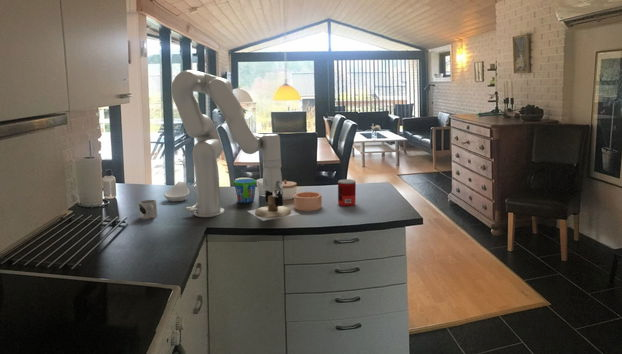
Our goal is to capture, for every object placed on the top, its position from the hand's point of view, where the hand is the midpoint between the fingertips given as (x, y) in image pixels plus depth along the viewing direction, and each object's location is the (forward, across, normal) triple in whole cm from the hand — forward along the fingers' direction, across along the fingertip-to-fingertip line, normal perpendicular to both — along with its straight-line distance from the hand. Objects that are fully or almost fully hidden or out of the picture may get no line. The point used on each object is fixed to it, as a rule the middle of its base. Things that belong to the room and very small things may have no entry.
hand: (274, 203), depth 183 cm
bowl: (+5, 0, +16) cm, 17 cm away
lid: (+4, 0, 0) cm, 4 cm away
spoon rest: (+4, -53, -27) cm, 59 cm away
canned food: (+5, +4, +34) cm, 35 cm away
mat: (+4, 0, 0) cm, 4 cm away
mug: (+4, -22, -46) cm, 52 cm away
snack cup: (+4, -26, -2) cm, 27 cm away
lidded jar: (+5, -20, +16) cm, 26 cm away
